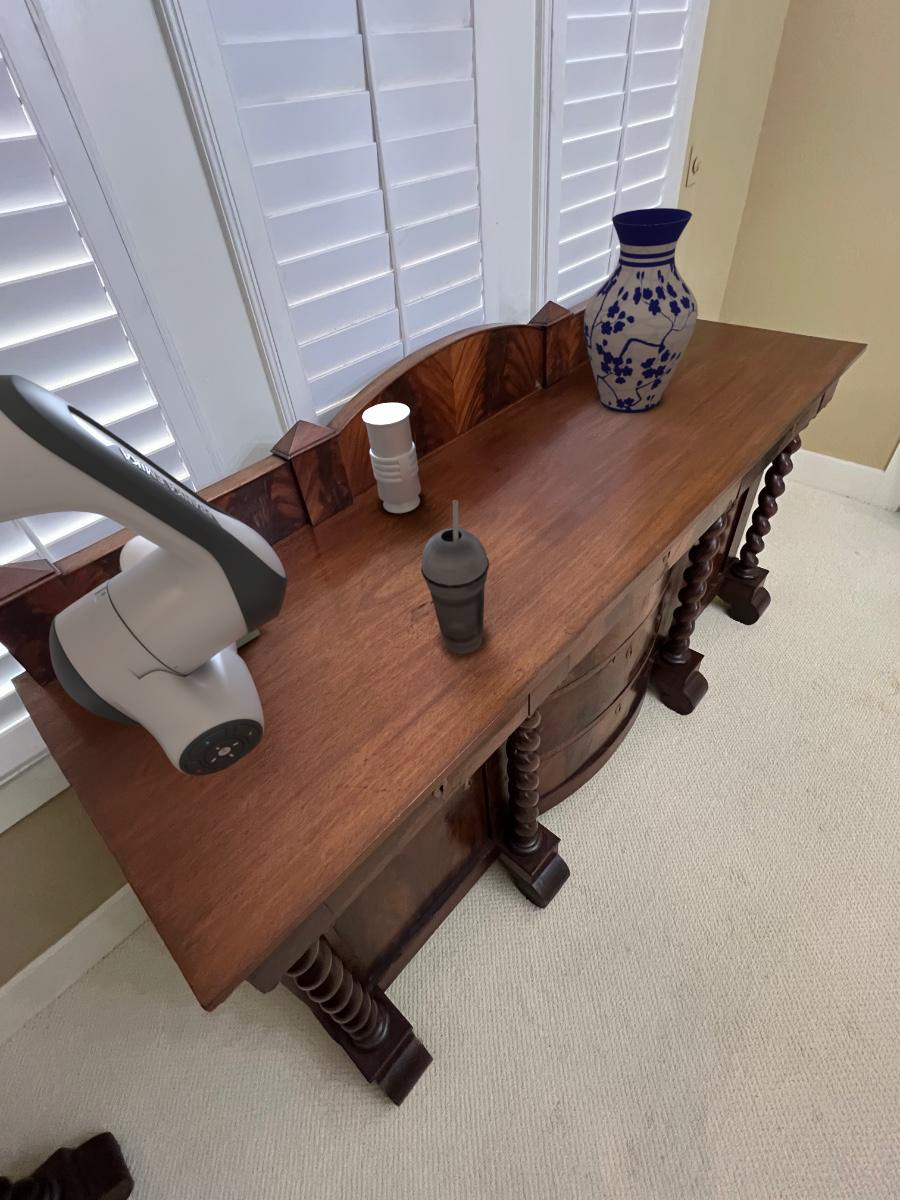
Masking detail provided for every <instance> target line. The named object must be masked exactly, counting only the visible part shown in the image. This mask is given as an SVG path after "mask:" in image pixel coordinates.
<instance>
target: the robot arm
mask: <svg viewBox="0 0 900 1200" xmlns="http://www.w3.org/2000/svg"><path fill="white" fill-rule="evenodd" d="M64 512H65V513H66V512H67V513H68V512H69V513H70V512H77V513H90V514H94V515H99V516H102V517H105V518H107V519H109V520H111V521H114V522H115V523H117V524H118V525H121V526H123V527H124V528H126V529H128V530H129V531H131V532H132V533H135V534H136V535H137V536H139V535H140V536H141V537H143V538H145V539H147V540H148V541H150V542H152V543H154V544H155V545H157V546H159V547H158V548H157V549H156V550H154V551H152V552H151V553H149V554H148V555H146V556H145V557H143V558H142V559H140V560H139V561H137V562H136V563H134V564H133V565H131V566H130V567H128V568H127V569H125V570H124V571H122V570H121V572H119V573H117V574H116V575H115V576H113V577H112V578H110V579H107V580H106V581H104V582H103V583H101V584H99V585H98V586H97V587H95V588H93V589H92V590H91V591H89V592H88V593H86V594H84V595H83V596H82V597H80V598H79V599H77V600H76V601H75V602H73V603H71V604H70V605H69V606H67V607H65V609H63V610H61V612H59V613H57V614H56V615H55V616H54V617H53V620H52V621H51V625H50V629H49V637H48V643H49V654H50V660H51V665H52V669H53V671H54V674H55V676H56V678H57V680H58V682H59V684H60V685H61V687H62V688H63V690H64V691H65V692H66V694H67V695H68V696H69V697H70V698H71V699H72V700H73V701H74V702H75V703H77V704H78V705H80V706H81V707H82V708H84V709H85V710H86V711H88V712H90V713H92V714H94V715H96V716H99V717H101V718H103V719H106V720H110V721H115V722H118V723H122V724H125V725H131V726H136V727H143V728H144V729H145V730H147V731H148V732H149V733H150V734H151V735H152V736H153V737H154V739H155V740H156V741H157V743H158V744H159V746H160V747H161V748H162V751H164V753H165V755H166V757H167V758H168V760H169V762H170V763H171V765H172V766H174V768H175V769H176V770H178V771H179V772H181V773H182V774H185V775H187V776H192V777H201V776H207V775H212V774H215V773H218V772H221V771H224V770H227V769H228V768H229V767H231V766H233V765H234V764H236V763H238V762H239V761H241V760H242V759H243V758H245V757H246V756H247V755H248V754H250V753H251V752H252V751H253V750H254V749H255V748H256V747H257V746H258V745H259V743H260V742H261V740H262V738H263V736H264V733H265V717H264V716H265V715H264V711H263V707H262V703H261V699H260V696H259V693H258V690H257V687H256V684H255V682H254V679H253V677H252V674H251V672H250V670H249V668H248V666H247V664H246V662H245V661H244V660H243V658H242V657H241V656H240V655H239V654H238V648H237V647H236V643H235V641H237V640H238V639H239V638H241V637H242V636H244V635H245V634H249V633H251V632H253V631H254V630H256V629H258V630H259V628H261V627H263V626H266V625H267V624H268V623H270V622H271V621H273V620H275V619H276V618H278V617H279V616H280V613H281V610H282V607H283V604H284V600H285V597H286V592H287V587H288V586H287V585H288V575H287V573H286V571H285V568H284V566H283V563H282V561H281V560H280V558H279V557H278V555H277V553H276V551H275V550H274V549H273V547H272V546H271V545H270V544H269V543H268V541H267V540H266V539H265V538H264V537H263V535H261V534H260V533H258V532H257V531H256V530H254V529H253V528H251V527H250V526H249V525H248V524H245V523H244V522H242V521H241V520H239V519H238V518H236V517H235V516H233V515H231V514H230V513H228V512H227V511H225V510H222V509H221V508H219V507H217V506H216V505H214V504H212V503H211V502H209V501H208V500H206V499H205V498H203V497H202V496H200V495H199V494H197V492H195V491H193V490H192V489H191V488H190V487H188V486H186V485H185V484H184V483H183V482H181V481H180V480H179V479H177V478H176V477H174V476H173V475H172V474H170V472H168V471H166V470H165V469H164V468H162V467H160V466H159V465H158V464H157V463H155V461H153V460H151V459H150V458H149V457H147V456H145V454H143V453H141V451H139V450H137V449H136V448H135V447H133V446H132V445H131V444H129V443H128V442H127V441H125V440H123V438H121V437H119V436H118V435H116V434H115V433H114V432H112V431H111V430H110V429H108V428H107V427H105V426H103V425H102V424H101V423H100V422H98V421H97V420H95V419H94V418H92V417H91V416H90V415H89V414H87V413H85V412H84V411H82V410H81V409H80V408H77V407H76V406H75V405H73V404H72V403H70V402H69V401H67V400H65V399H64V398H62V397H60V396H58V394H56V393H54V392H52V391H51V390H48V389H47V388H45V387H44V386H41V385H39V384H38V383H35V382H34V381H32V380H29V379H27V378H25V377H23V376H20V375H17V374H0V524H2V523H7V522H9V521H15V520H18V519H24V518H29V517H34V516H40V515H45V514H55V513H64Z"/></svg>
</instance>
